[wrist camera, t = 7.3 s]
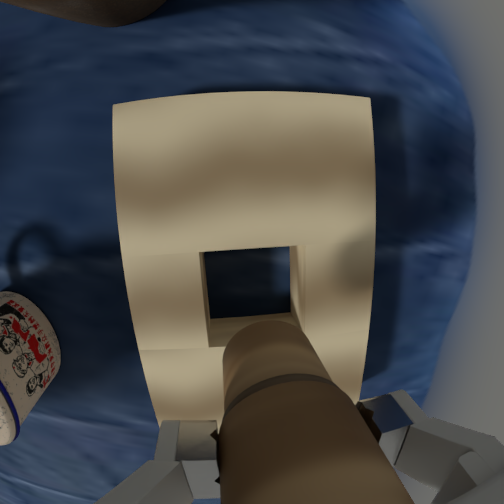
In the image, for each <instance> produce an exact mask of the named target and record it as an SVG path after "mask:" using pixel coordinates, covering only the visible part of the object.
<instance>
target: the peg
mask: <svg viewBox="0 0 504 504" xmlns="http://www.w3.org/2000/svg"><path fill="white" fill-rule="evenodd" d="M222 365H223V392H224V416H223V419H222V423H221V426H220V429H219V469H220V497H221V504H414V502H413V500H412V499H411V497H410V495H409V494H408V492H407V490H406V489H405V487H404V485H403V484H402V482H401V480H400V479H399V477H398V475H397V474H396V472H395V470H394V469H393V467H392V465H391V464H390V462H389V460H388V459H387V457H386V455H385V454H384V452H383V450H382V449H381V447H380V445H379V444H378V442H377V441H376V439H375V437H374V436H373V434H372V432H371V431H370V429H369V427H368V426H367V424H366V422H365V421H364V419H363V417H362V416H361V414H360V413H359V411H358V409H357V408H356V406H355V404H354V403H353V401H352V400H351V398H350V397H349V396H348V395H347V394H346V393H345V392H344V391H342V390H341V389H340V388H339V387H338V386H337V385H336V384H335V383H333V381H332V379H331V377H330V376H329V374H328V372H327V371H326V369H325V367H324V365H323V364H322V362H321V360H320V358H319V357H318V355H317V353H316V351H315V350H314V348H313V346H312V345H311V343H310V341H309V339H308V338H307V336H306V335H305V334H304V333H303V332H302V331H301V330H300V329H299V328H297V327H296V326H294V325H292V324H290V323H287V322H283V321H277V320H266V321H260V322H256V323H253V324H251V325H248V326H246V327H244V328H243V329H241V330H240V331H238V332H237V333H236V334H235V335H234V336H233V337H232V338H231V339H230V341H229V342H228V344H227V346H226V348H225V350H224V353H223V359H222Z"/></svg>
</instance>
